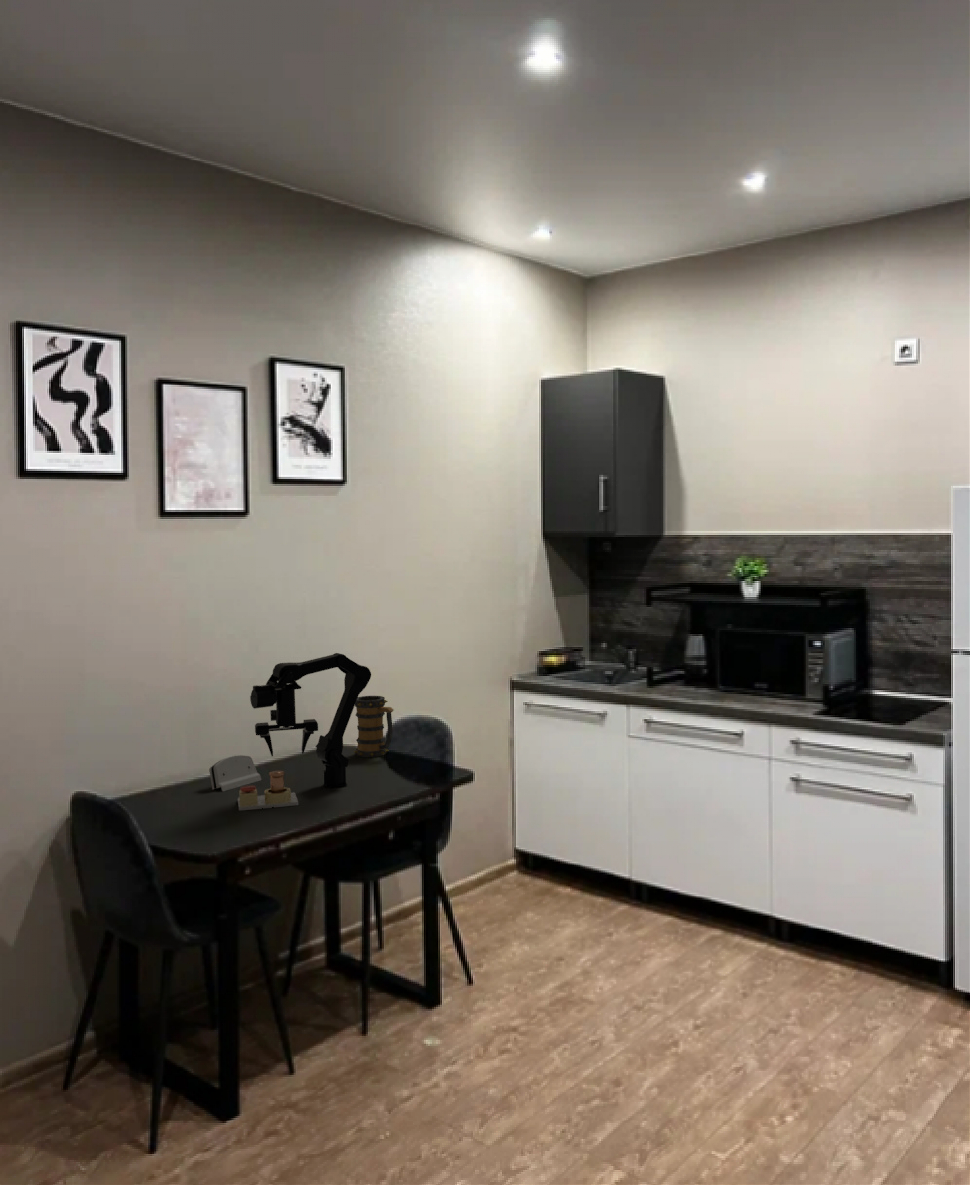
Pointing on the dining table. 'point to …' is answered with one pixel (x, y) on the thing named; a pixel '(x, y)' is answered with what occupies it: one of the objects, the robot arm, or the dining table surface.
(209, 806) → the dining table surface
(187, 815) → the dining table surface
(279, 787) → the pipe stub
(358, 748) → the mug
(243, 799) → the panel with octagonal sockets
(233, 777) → the hinge
